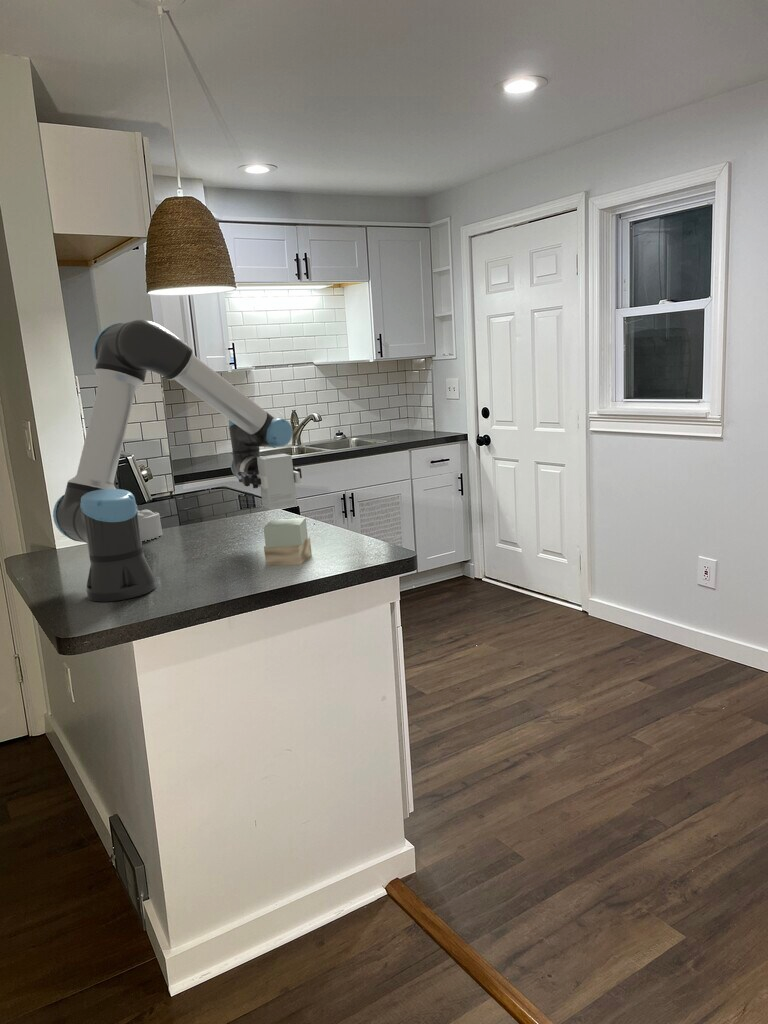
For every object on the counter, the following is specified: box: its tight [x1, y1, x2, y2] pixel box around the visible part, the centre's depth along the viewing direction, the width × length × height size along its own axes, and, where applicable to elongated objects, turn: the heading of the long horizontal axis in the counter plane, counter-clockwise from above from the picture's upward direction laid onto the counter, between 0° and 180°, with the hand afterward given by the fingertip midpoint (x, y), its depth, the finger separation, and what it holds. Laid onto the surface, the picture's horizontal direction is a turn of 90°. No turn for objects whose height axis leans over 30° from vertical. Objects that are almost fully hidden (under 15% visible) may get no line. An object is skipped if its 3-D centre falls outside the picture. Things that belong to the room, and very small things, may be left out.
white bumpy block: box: [138, 509, 163, 541], centre depth 233 cm, size 10×13×9 cm
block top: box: [263, 517, 309, 547], centre depth 191 cm, size 9×9×5 cm
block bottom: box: [263, 536, 312, 566], centre depth 192 cm, size 9×9×5 cm
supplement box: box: [257, 453, 298, 510], centre depth 189 cm, size 7×7×13 cm
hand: (282, 480), depth 184 cm, fingers closed on supplement box, 7 cm apart
